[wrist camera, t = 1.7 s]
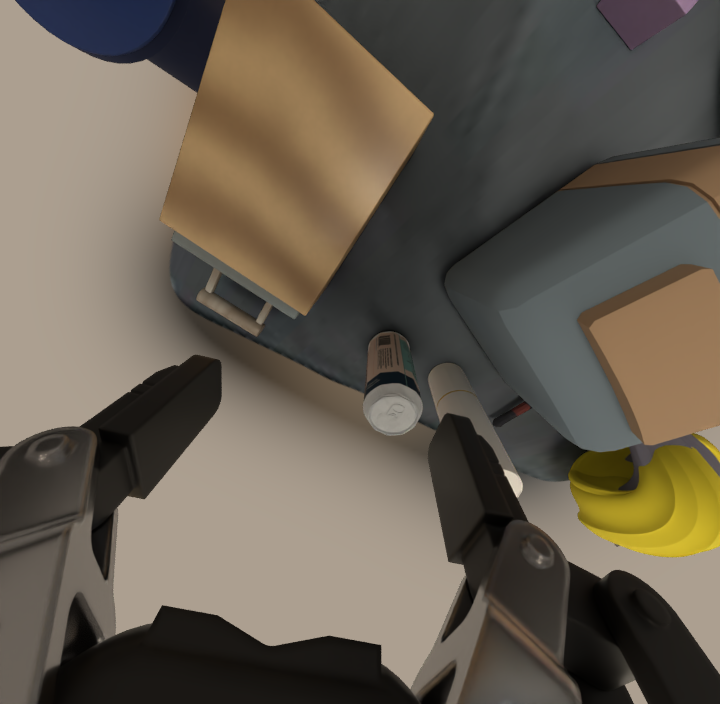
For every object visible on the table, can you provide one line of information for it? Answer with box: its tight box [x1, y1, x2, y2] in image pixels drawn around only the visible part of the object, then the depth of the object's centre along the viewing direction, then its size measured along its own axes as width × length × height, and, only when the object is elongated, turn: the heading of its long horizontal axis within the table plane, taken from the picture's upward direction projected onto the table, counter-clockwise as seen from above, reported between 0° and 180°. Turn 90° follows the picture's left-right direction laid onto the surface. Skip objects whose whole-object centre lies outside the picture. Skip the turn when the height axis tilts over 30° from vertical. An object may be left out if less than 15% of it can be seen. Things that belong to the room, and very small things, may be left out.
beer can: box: [363, 331, 423, 435], centre depth 26 cm, size 5×5×12 cm
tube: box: [428, 363, 523, 497], centre depth 26 cm, size 4×4×15 cm
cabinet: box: [159, 0, 434, 316], centre depth 21 cm, size 15×12×9 cm
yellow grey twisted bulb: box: [568, 433, 720, 557], centre depth 31 cm, size 15×19×14 cm
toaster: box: [444, 137, 720, 452], centre depth 20 cm, size 16×16×16 cm
